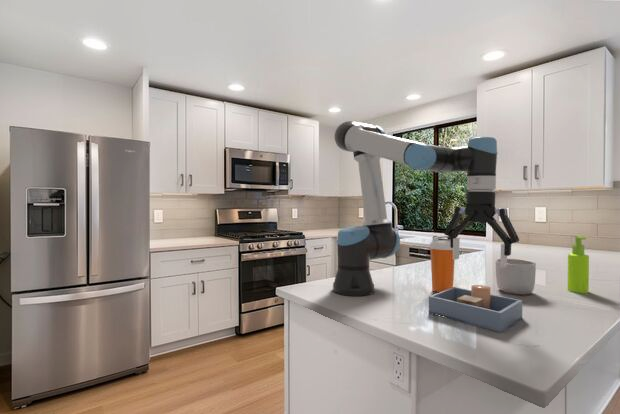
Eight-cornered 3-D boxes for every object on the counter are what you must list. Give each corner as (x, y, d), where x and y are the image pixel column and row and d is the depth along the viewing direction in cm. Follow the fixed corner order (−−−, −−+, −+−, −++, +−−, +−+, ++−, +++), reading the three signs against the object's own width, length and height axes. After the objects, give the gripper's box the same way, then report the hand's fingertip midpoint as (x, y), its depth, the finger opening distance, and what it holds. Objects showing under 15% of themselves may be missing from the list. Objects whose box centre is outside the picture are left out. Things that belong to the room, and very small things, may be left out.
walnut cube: (457, 316, 94) (457, 298, 94) (464, 312, 97) (464, 295, 97) (475, 320, 90) (475, 302, 90) (482, 316, 93) (482, 298, 93)
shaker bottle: (458, 294, 117) (458, 237, 116) (431, 293, 118) (431, 237, 118) (452, 288, 125) (452, 235, 125) (427, 287, 127) (427, 234, 127)
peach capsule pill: (468, 310, 98) (468, 286, 98) (475, 306, 102) (475, 284, 101) (486, 314, 95) (486, 290, 94) (493, 310, 98) (493, 287, 98)
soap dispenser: (571, 293, 117) (572, 236, 117) (565, 288, 124) (565, 234, 123) (592, 294, 115) (593, 237, 115) (584, 289, 122) (585, 235, 121)
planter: (512, 286, 128) (512, 257, 127) (544, 294, 116) (544, 263, 116) (487, 289, 124) (487, 259, 124) (517, 298, 112) (517, 266, 112)
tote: (428, 313, 98) (428, 296, 98) (453, 302, 108) (453, 286, 108) (500, 332, 83) (501, 313, 83) (522, 318, 93) (522, 300, 93)
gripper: (434, 190, 104) (432, 257, 105) (525, 191, 86) (521, 272, 87) (446, 190, 109) (444, 254, 110) (534, 191, 90) (531, 268, 91)
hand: (478, 262), depth 98 cm, fingers open, 13 cm apart
